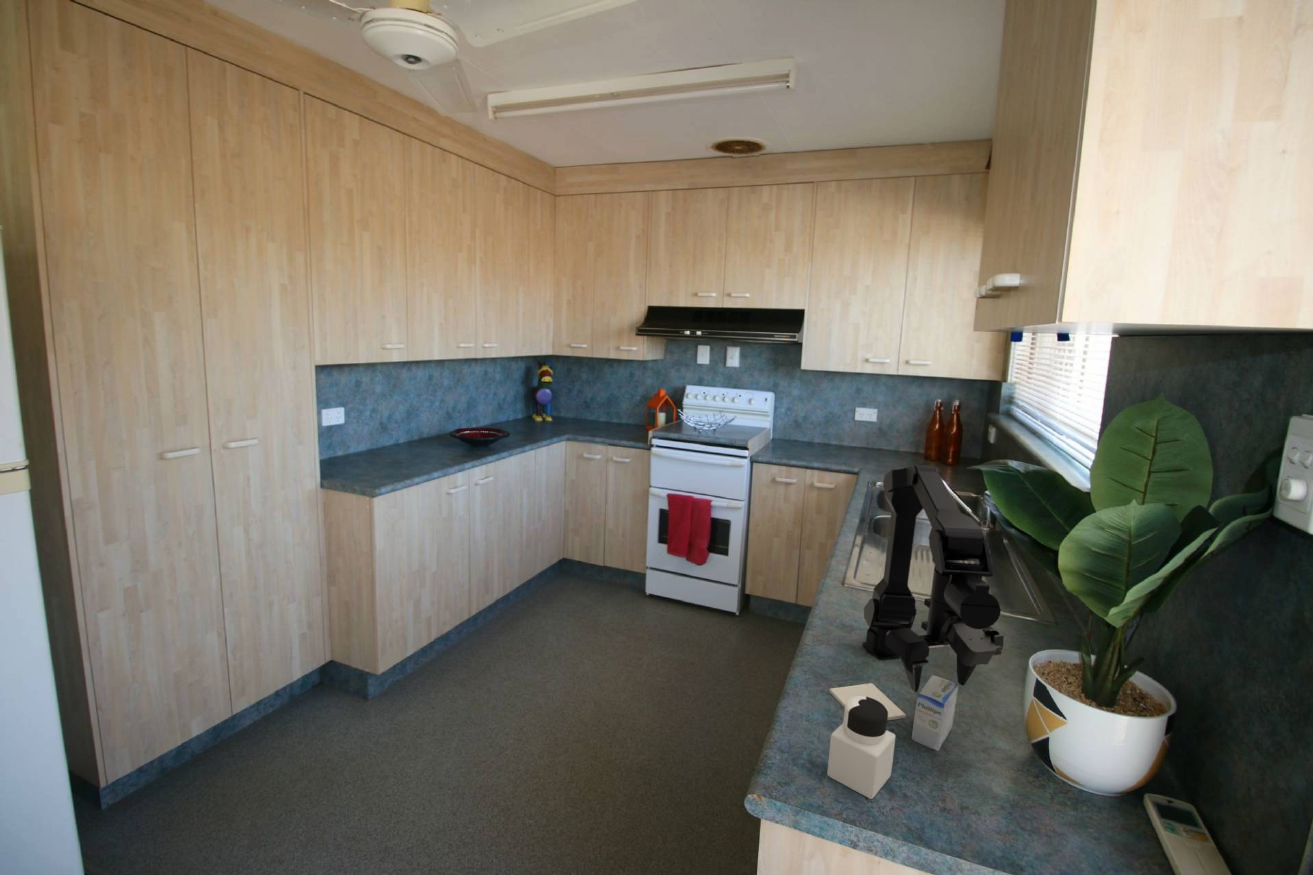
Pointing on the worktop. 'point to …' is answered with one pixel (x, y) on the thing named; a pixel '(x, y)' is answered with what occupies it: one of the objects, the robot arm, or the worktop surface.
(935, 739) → the medicine box
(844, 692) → the mat
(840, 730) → the medicine bottle
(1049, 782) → the worktop surface
